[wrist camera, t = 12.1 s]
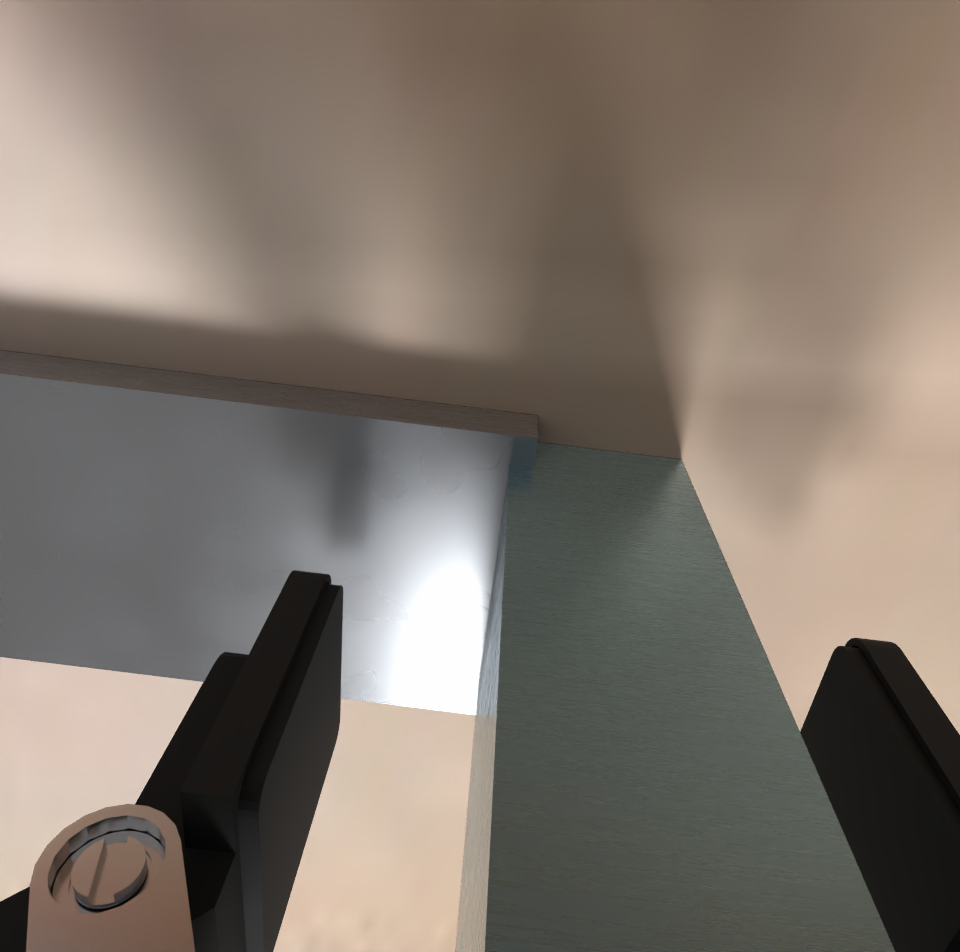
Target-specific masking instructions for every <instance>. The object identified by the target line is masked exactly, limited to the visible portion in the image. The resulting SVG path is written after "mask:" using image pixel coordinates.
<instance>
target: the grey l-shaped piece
mask: <svg viewBox="0 0 960 952" xmlns="http://www.w3.org/2000/svg"><path fill="white" fill-rule="evenodd" d="M293 570H297V571H305V572H314V573H322V574H329V575H330V576H331V584H332V585H340V586H342V587H343V625H342V663H341V699H349V700H357V701H365V702H373V703H382V704H390V705H398V706H406V707H414V708H422V709H430V710H439V711H447V712H455V713H463V714H471V715H476V716H475V727H474V739H473V751H472V762H471V774H470V786H469V798H468V809H467V821H466V833H465V845H464V856H463V868H462V880H461V891H460V903H459V915H458V927H457V938H456V950H455V952H895V950H894V948H893V945H892V943H891V941H890V939H889V936H888V934H887V932H886V929H885V927H884V925H883V922H882V920H881V918H880V916H879V913H878V911H877V909H876V906H875V904H874V902H873V899H872V897H871V895H870V892H869V890H868V888H867V886H866V883H865V881H864V879H863V876H862V874H861V872H860V869H859V867H858V865H857V863H856V860H855V858H854V856H853V853H852V851H851V849H850V846H849V844H848V842H847V839H846V837H845V835H844V833H843V830H842V828H841V826H840V823H839V821H838V819H837V816H836V814H835V812H834V810H833V807H832V805H831V803H830V800H829V798H828V796H827V793H826V791H825V789H824V786H823V784H822V782H821V780H820V777H819V775H818V773H817V770H816V768H815V766H814V763H813V761H812V759H811V757H810V754H809V752H808V750H807V747H806V745H805V743H804V740H803V738H802V736H801V733H800V731H799V729H798V727H797V724H796V722H795V720H794V717H793V715H792V713H791V710H790V708H789V706H788V703H787V701H786V699H785V697H784V694H783V692H782V690H781V687H780V685H779V683H778V680H777V678H776V676H775V674H774V671H773V669H772V667H771V664H770V662H769V660H768V657H767V655H766V653H765V650H764V648H763V646H762V644H761V641H760V639H759V637H758V634H757V632H756V630H755V627H754V625H753V623H752V621H751V618H750V616H749V614H748V611H747V609H746V607H745V604H744V602H743V600H742V597H741V595H740V593H739V591H738V588H737V586H736V584H735V581H734V579H733V577H732V574H731V572H730V570H729V568H728V565H727V563H726V561H725V558H724V556H723V554H722V551H721V549H720V547H719V544H718V542H717V540H716V538H715V535H714V533H713V531H712V528H711V526H710V524H709V521H708V519H707V517H706V514H705V512H704V510H703V508H702V505H701V503H700V501H699V498H698V496H697V494H696V491H695V489H694V487H693V485H692V482H691V480H690V478H689V475H688V473H687V471H686V468H685V466H684V464H683V461H682V460H680V459H672V458H664V457H655V456H647V455H639V454H631V453H622V452H614V451H606V450H598V449H590V448H581V447H573V446H565V445H557V444H548V443H540V442H538V416H537V415H532V414H523V413H515V412H507V411H499V410H490V409H482V408H474V407H466V406H457V405H449V404H441V403H433V402H424V401H416V400H408V399H400V398H391V397H383V396H375V395H367V394H358V393H350V392H342V391H333V390H325V389H317V388H309V387H300V386H292V385H284V384H276V383H267V382H259V381H251V380H243V379H234V378H226V377H218V376H210V375H201V374H193V373H185V372H177V371H168V370H160V369H152V368H144V367H135V366H127V365H119V364H111V363H102V362H94V361H86V360H78V359H69V358H61V357H53V356H44V355H36V354H28V353H20V352H11V351H3V350H0V657H6V658H14V659H22V660H30V661H39V662H47V663H55V664H63V665H71V666H79V667H88V668H96V669H104V670H112V671H120V672H128V673H137V674H145V675H153V676H161V677H169V678H177V679H186V680H194V681H202V682H204V681H205V679H206V677H207V675H208V674H209V672H210V670H211V668H212V666H213V665H214V663H215V661H216V660H217V659H218V657H219V656H220V655H221V654H222V653H224V652H231V653H239V654H247V655H249V653H250V651H251V649H252V647H253V645H254V643H255V641H256V639H257V637H258V635H259V633H260V631H261V629H262V627H263V626H264V624H265V622H266V620H267V618H268V616H269V614H270V612H271V610H272V608H273V606H274V604H275V602H276V600H277V598H278V596H279V594H280V592H281V590H282V588H283V586H284V584H285V582H286V580H287V578H288V576H289V574H290V573H291V571H293Z"/></svg>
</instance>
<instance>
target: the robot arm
mask: <svg viewBox="0 0 960 952" xmlns="http://www.w3.org/2000/svg"><path fill="white" fill-rule="evenodd" d="M342 625H343V587H342V586H340V585H332V584H331V576H330V575H329V574H322V573H314V572H305V571H297V570H293V571H291V573H290V574H289V576H288V578H287V580H286V582H285V584H284V586H283V588H282V590H281V592H280V594H279V596H278V598H277V600H276V602H275V604H274V606H273V608H272V610H271V612H270V614H269V616H268V618H267V620H266V622H265V624H264V626H263V627H262V629H261V631H260V633H259V635H258V637H257V639H256V641H255V643H254V645H253V647H252V649H251V651H250V653H249V655H247V654H239V653H231V652H224V653H222V654H221V655H220V656H219V657H218V659H217V660H216V661H215V663H214V665H213V666H212V668H211V670H210V672H209V674H208V675H207V677H206V679H205V681H204V682H203V684H202V686H201V688H200V690H199V691H198V693H197V695H196V697H195V699H194V700H193V702H192V704H191V706H190V707H189V709H188V711H187V713H186V715H185V716H184V718H183V720H182V722H181V723H180V725H179V727H178V729H177V731H176V732H175V734H174V736H173V738H172V740H171V741H170V743H169V745H168V747H167V748H166V750H165V752H164V754H163V756H162V757H161V759H160V761H159V763H158V764H157V766H156V768H155V770H154V772H153V773H152V775H151V777H150V779H149V780H148V782H147V784H146V786H145V788H144V789H143V791H142V793H141V795H140V797H139V798H138V800H137V802H136V804H135V805H133V804H125V805H119V806H112V807H106V808H103V809H101V810H98V811H96V812H93V813H90V814H88V815H85V816H83V817H82V818H80V819H79V820H77V821H76V822H74V823H72V824H71V825H69V826H68V827H66V828H65V829H63V830H62V831H61V832H60V833H59V834H58V835H57V836H56V837H55V838H54V839H53V840H52V841H51V842H50V843H49V844H48V845H47V846H46V848H45V850H44V851H43V853H42V854H41V856H40V858H39V859H38V861H37V863H36V864H35V867H34V871H33V875H32V879H31V883H30V887H28V888H26V889H24V890H22V891H20V892H18V893H16V894H14V895H12V896H10V897H9V898H7V899H5V900H3V901H1V902H0V952H273V950H274V947H275V943H276V940H277V937H278V934H279V930H280V927H281V924H282V920H283V917H284V914H285V910H286V907H287V904H288V900H289V897H290V894H291V890H292V887H293V884H294V880H295V877H296V874H297V870H298V867H299V864H300V860H301V857H302V854H303V850H304V847H305V844H306V840H307V837H308V834H309V830H310V827H311V824H312V820H313V817H314V814H315V810H316V807H317V804H318V800H319V797H320V794H321V790H322V787H323V784H324V780H325V777H326V774H327V771H328V767H329V764H330V761H331V757H332V754H333V751H334V747H335V744H336V740H337V736H338V730H339V723H340V701H341V663H342ZM800 733H801V736H802V738H803V740H804V743H805V745H806V747H807V750H808V752H809V754H810V757H811V759H812V761H813V763H814V766H815V768H816V770H817V773H818V775H819V777H820V780H821V782H822V784H823V786H824V789H825V791H826V793H827V796H828V798H829V800H830V803H831V805H832V807H833V810H834V812H835V814H836V816H837V819H838V821H839V823H840V826H841V828H842V830H843V833H844V835H845V837H846V839H847V842H848V844H849V846H850V849H851V851H852V853H853V856H854V858H855V860H856V863H857V865H858V867H859V869H860V872H861V874H862V876H863V879H864V881H865V883H866V886H867V888H868V890H869V892H870V895H871V897H872V899H873V902H874V904H875V906H876V909H877V911H878V913H879V916H880V918H881V920H882V922H883V925H884V927H885V929H886V932H887V934H888V936H889V939H890V941H891V943H892V945H893V948H894V950H895V952H960V735H959V733H958V732H957V731H956V729H955V728H954V726H953V725H952V723H951V722H950V720H949V719H948V717H947V716H946V714H945V713H944V712H943V710H942V709H941V707H940V706H939V704H938V703H937V701H936V700H935V698H934V697H933V696H932V694H931V693H930V691H929V690H928V688H927V687H926V685H925V684H924V682H923V681H922V679H921V678H920V677H919V675H918V674H917V672H916V671H915V669H914V668H913V666H912V665H911V663H910V662H909V661H908V659H907V658H906V656H905V655H904V653H903V652H902V650H901V649H900V648H899V647H898V646H897V645H896V644H894V643H892V642H886V641H877V640H869V639H861V638H852V639H850V640H849V641H848V642H847V643H846V645H845V646H838V647H837V648H836V649H835V650H834V652H833V654H832V656H831V658H830V661H829V663H828V666H827V668H826V671H825V673H824V676H823V678H822V680H821V683H820V685H819V688H818V690H817V693H816V695H815V697H814V700H813V702H812V705H811V707H810V710H809V712H808V715H807V717H806V719H805V722H804V724H803V727H802V729H801V732H800Z"/></svg>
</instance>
